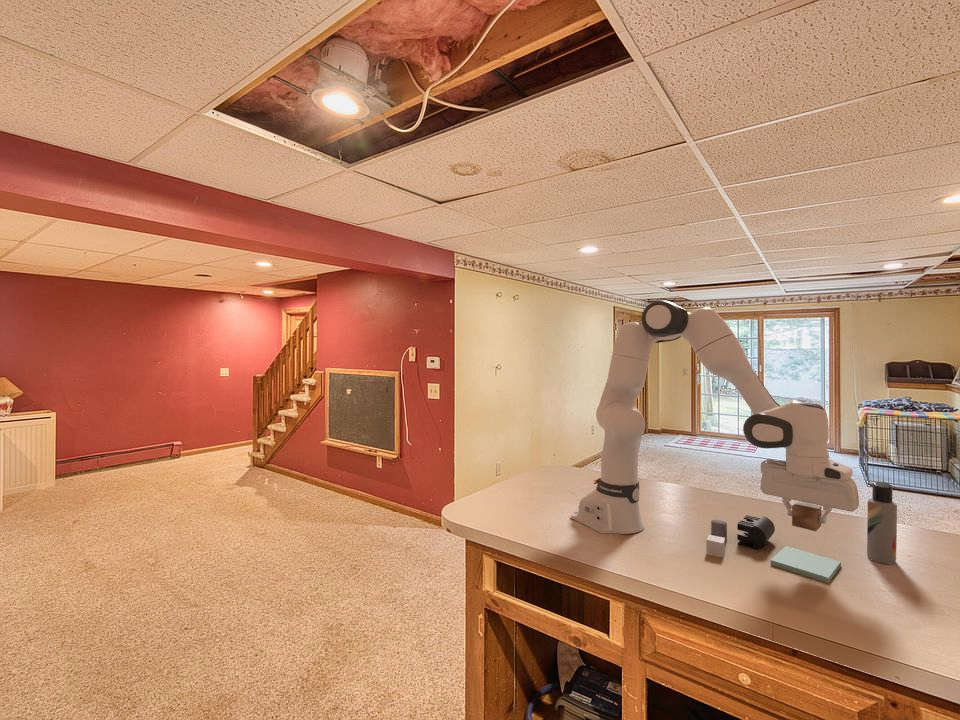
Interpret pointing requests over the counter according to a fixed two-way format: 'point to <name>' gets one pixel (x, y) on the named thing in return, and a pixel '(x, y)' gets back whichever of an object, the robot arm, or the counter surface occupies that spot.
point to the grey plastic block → (715, 546)
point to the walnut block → (806, 516)
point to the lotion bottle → (882, 525)
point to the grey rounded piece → (719, 529)
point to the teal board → (806, 563)
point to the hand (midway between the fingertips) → (806, 519)
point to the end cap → (755, 531)
